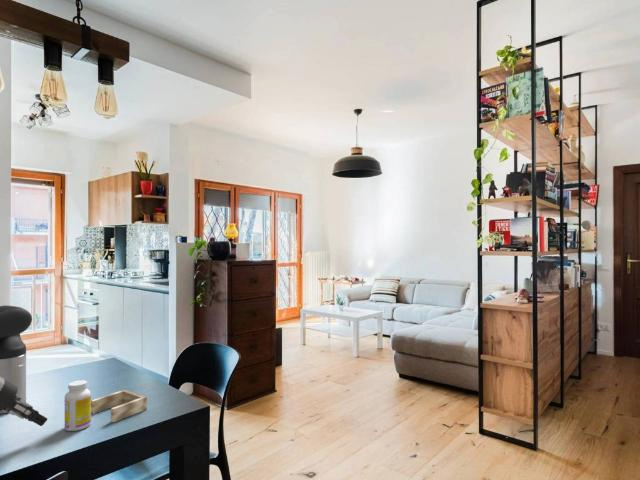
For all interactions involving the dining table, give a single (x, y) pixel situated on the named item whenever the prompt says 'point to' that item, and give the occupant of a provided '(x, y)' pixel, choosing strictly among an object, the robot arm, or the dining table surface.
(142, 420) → the dining table surface
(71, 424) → the supplement bottle
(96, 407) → the birch caddy
